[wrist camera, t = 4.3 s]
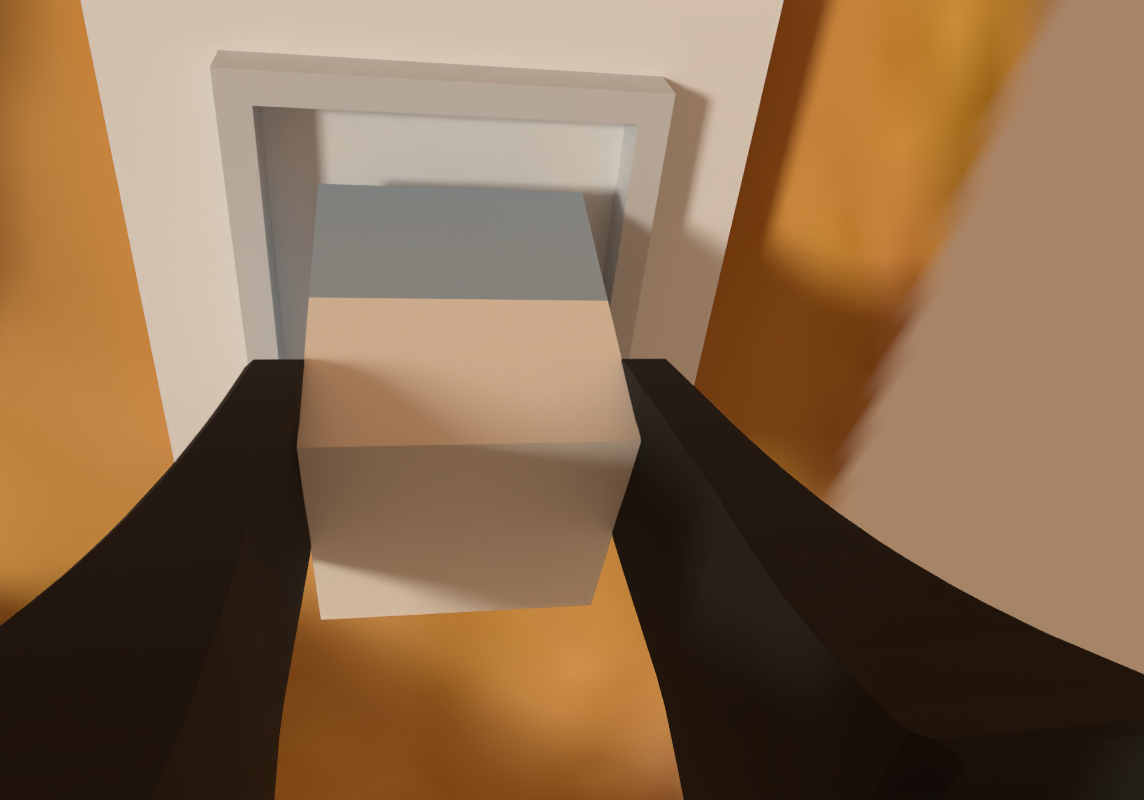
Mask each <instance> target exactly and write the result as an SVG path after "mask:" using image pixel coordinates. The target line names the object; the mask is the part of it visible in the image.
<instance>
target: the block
mask: <svg viewBox="0 0 1144 800" xmlns="http://www.w3.org/2000/svg"><path fill="white" fill-rule="evenodd" d="M621 359H622V358H621V354H620V350H619V345H618V341H617V337H616V333H615V329H614V324H613V320H612V316H611V312H610V308H609V303H608V299H607V295H606V291H605V286H604V282H603V278H602V274H601V270H600V265H599V261H598V257H597V253H596V249H595V244H594V240H593V236H592V232H591V228H590V223H589V219H588V215H587V211H586V206H585V202H584V198H583V194H582V193H574V192H545V191H516V190H487V189H459V188H430V187H401V186H372V185H343V184H318V191H317V204H316V216H315V228H314V241H313V253H312V265H311V278H310V290H309V302H308V315H307V327H306V340H305V352H304V373H303V385H302V398H301V410H300V423H299V430H298V438H297V453H298V460H299V467H300V475H301V482H302V489H303V496H304V503H305V509H306V515H307V521H308V527H309V534H310V541H311V553H312V560H313V567H314V574H315V581H316V588H317V595H318V602H319V609H320V617H321V620H327V619H345V618H363V617H381V616H399V615H417V614H435V613H453V612H472V611H490V610H508V609H526V608H544V607H562V606H580V605H591V602H592V599H593V596H594V592H595V589H596V586H597V583H598V579H599V576H600V573H601V570H602V566H603V563H604V560H605V557H606V554H607V550H608V547H609V544H610V541H611V537H612V531H613V528H614V525H615V521H616V518H617V515H618V512H619V509H620V506H621V503H622V500H623V497H624V494H625V491H626V488H627V485H628V482H629V479H630V476H631V472H632V469H633V466H634V463H635V459H636V456H637V453H638V450H639V446H640V443H641V438H640V434H639V430H638V427H637V424H636V421H635V417H634V413H633V408H632V404H631V400H630V396H629V392H628V387H627V383H626V379H625V375H624V370H623V366H622V362H621Z"/></svg>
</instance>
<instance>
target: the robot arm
mask: <svg viewBox="0 0 1144 800" xmlns="http://www.w3.org/2000/svg"><path fill="white" fill-rule="evenodd" d="M621 362H622V366H623V370H624V375H625V379H626V383H627V387H628V392H629V396H630V400H631V404H632V408H633V413H634V417H635V421H636V424H637V427H638V430H639V434H640V438H641V443H640V446H639V450H638V453H637V456H636V459H635V463H634V466H633V469H632V472H631V476H630V479H629V482H628V485H627V488H626V491H625V494H624V497H623V500H622V503H621V506H620V509H619V512H618V515H617V518H616V521H615V525H614V528H613V531H612V535H613V539H614V543H615V546H616V549H617V553H618V556H619V559H620V562H621V565H622V569H623V572H624V575H625V578H626V582H627V585H628V588H629V591H630V594H631V597H632V600H633V604H634V607H635V610H636V613H637V616H638V619H639V622H640V625H641V629H642V632H643V635H644V638H645V641H646V644H647V647H648V650H649V654H650V657H651V660H652V663H653V666H654V669H655V672H656V675H657V679H658V683H659V686H660V690H661V694H662V698H663V701H664V705H665V709H666V714H667V719H668V724H669V728H670V733H671V738H672V743H673V748H674V753H675V758H676V762H677V767H678V772H679V777H680V783H681V788H682V793H683V799H684V800H1144V674H1142V673H1139V672H1137V671H1135V670H1132V669H1130V668H1128V667H1125V666H1123V665H1120V664H1118V663H1115V662H1113V661H1111V660H1109V659H1106V658H1104V657H1101V656H1099V655H1097V654H1094V653H1092V652H1090V651H1087V650H1085V649H1082V648H1080V647H1078V646H1075V645H1073V644H1071V643H1068V642H1066V641H1063V640H1061V639H1059V638H1056V637H1054V636H1052V635H1049V634H1047V633H1045V632H1043V631H1041V630H1039V629H1037V628H1035V627H1033V626H1030V625H1028V624H1026V623H1024V622H1022V621H1020V620H1018V619H1016V618H1014V617H1012V616H1010V615H1008V614H1006V613H1004V612H1002V611H1000V610H998V609H996V608H994V607H992V606H990V605H987V604H986V603H984V602H982V601H980V600H978V599H977V598H974V597H973V596H971V595H969V594H967V593H965V592H963V591H962V590H960V589H958V588H956V587H954V586H952V585H951V584H949V583H947V582H945V581H944V580H942V579H940V578H939V577H937V576H935V575H933V574H932V573H930V572H928V571H927V570H925V569H923V568H922V567H920V566H918V565H917V564H914V563H913V562H911V561H910V560H908V559H906V558H905V557H903V556H902V555H900V554H898V553H897V552H895V551H894V550H892V549H891V548H889V547H887V546H886V545H884V544H883V543H881V542H880V541H878V540H877V539H875V538H874V537H872V536H871V535H869V534H868V533H867V532H865V531H864V530H862V529H861V528H859V527H858V526H857V525H855V524H854V523H852V522H851V521H849V520H848V519H846V518H845V517H844V516H842V515H841V514H839V513H838V512H836V511H835V510H834V509H832V508H831V507H830V506H828V505H827V504H826V503H825V502H823V501H822V500H821V499H819V498H818V497H817V496H815V495H814V494H813V493H812V492H810V491H809V490H808V489H807V488H806V487H804V486H803V485H802V484H801V483H799V482H798V481H797V480H796V479H795V478H793V477H792V476H791V475H790V474H788V473H787V472H786V471H785V470H784V469H782V468H781V467H780V466H779V465H778V464H777V463H775V462H774V461H773V460H772V459H771V458H770V457H769V456H767V455H766V454H765V453H764V452H763V451H762V450H761V449H759V448H758V447H757V446H756V445H755V444H754V443H753V442H752V441H751V440H750V439H748V438H747V437H746V436H745V435H744V434H743V433H742V432H741V431H740V430H739V429H738V428H737V427H736V426H735V425H733V424H732V423H731V422H730V421H729V420H728V419H727V418H726V417H725V416H724V415H723V414H722V413H721V412H720V411H719V410H718V409H717V408H716V407H715V406H714V405H713V404H712V403H711V402H710V401H709V400H708V399H707V398H706V397H705V396H704V395H703V394H702V393H701V392H700V391H698V390H697V389H696V388H695V387H694V386H693V385H692V384H691V383H690V382H689V381H688V380H687V379H686V378H685V377H684V376H683V375H682V374H681V373H680V372H679V371H678V370H677V369H676V368H675V367H674V366H673V365H672V364H671V363H670V362H668V361H667V360H666V359H621ZM303 373H304V359H253V360H252V361H251V362H250V363H249V364H248V365H247V366H245V368H244V369H243V371H242V372H241V374H240V375H239V377H238V378H237V380H236V381H235V383H234V384H233V386H232V387H231V389H230V390H229V392H228V393H227V395H226V396H225V397H224V399H223V400H222V402H221V403H220V405H219V406H218V407H217V409H216V410H215V411H214V413H213V414H212V415H211V417H210V418H209V419H208V421H207V422H206V423H205V425H204V426H203V427H202V429H201V430H200V431H199V432H198V434H197V435H196V436H195V437H194V439H193V440H192V441H191V442H190V444H189V445H188V446H187V447H186V449H185V450H184V451H183V452H182V454H181V455H180V456H179V457H178V459H177V460H176V461H175V462H174V463H173V465H172V466H171V467H170V468H169V469H168V470H167V472H166V473H165V474H164V475H163V476H162V477H161V478H160V479H159V480H158V482H157V483H156V484H155V485H154V486H153V487H152V488H151V489H150V490H149V491H148V492H147V494H146V495H145V496H144V497H143V498H142V499H141V500H140V501H139V502H138V503H137V505H136V506H135V507H134V508H133V509H132V510H131V511H130V512H129V513H128V514H127V515H126V516H125V517H124V518H123V519H122V520H121V521H120V522H119V523H118V524H117V525H116V526H115V527H114V528H113V529H112V530H111V531H110V532H109V533H108V534H107V535H106V536H105V537H104V538H103V539H102V540H101V541H100V542H99V543H98V544H97V545H96V546H95V547H94V548H93V549H92V550H91V551H89V552H88V553H87V554H86V555H85V556H84V557H83V558H82V559H81V560H80V561H78V562H77V563H76V564H75V565H74V566H73V567H72V568H71V569H70V570H69V571H67V572H66V573H65V574H64V575H63V576H62V577H61V578H59V579H58V580H57V581H56V582H54V583H53V584H52V585H51V586H50V587H48V588H47V589H46V590H45V591H44V592H42V593H41V594H40V595H39V596H37V597H36V598H35V599H34V600H33V601H31V602H30V603H29V604H28V605H26V606H25V607H24V608H23V609H21V610H20V611H19V612H18V613H16V614H15V615H14V616H12V617H11V618H10V619H9V620H7V621H6V622H5V623H3V624H2V625H1V626H0V800H274V798H275V784H276V771H277V758H278V744H279V734H280V727H281V719H282V712H283V704H284V698H285V693H286V687H287V682H288V676H289V670H290V665H291V659H292V654H293V648H294V642H295V637H296V631H297V626H298V620H299V614H300V609H301V603H302V598H303V592H304V586H305V580H306V575H307V569H308V563H309V557H310V551H311V541H310V534H309V527H308V521H307V515H306V509H305V503H304V496H303V489H302V482H301V475H300V467H299V460H298V453H297V438H298V430H299V423H300V410H301V398H302V385H303Z"/></svg>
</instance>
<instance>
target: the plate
mask: <svg viewBox="0 0 1144 800" xmlns="http://www.w3.org/2000/svg"><path fill="white" fill-rule="evenodd" d="M783 1H784V0H81V5H82V10H83V15H84V20H85V25H86V30H87V35H88V39H89V44H90V49H91V54H92V59H93V64H94V69H95V74H96V79H97V84H98V89H99V94H100V98H101V103H102V108H103V113H104V118H105V123H106V128H107V133H108V138H109V143H110V148H111V153H112V157H113V162H114V167H115V172H116V177H117V182H118V187H119V192H120V197H121V202H122V207H123V212H124V216H125V221H126V226H127V231H128V236H129V241H130V246H131V251H132V256H133V261H134V266H135V271H136V275H137V280H138V285H139V290H140V295H141V300H142V305H143V310H144V315H145V320H146V325H147V330H148V334H149V339H150V344H151V349H152V354H153V359H154V364H155V369H156V374H157V379H158V384H159V389H160V393H161V398H162V403H163V408H164V413H165V418H166V423H167V428H168V433H169V438H170V443H171V448H172V452H173V457H174V462H175V461H176V460H177V459H178V457H179V456H180V455H181V454H182V452H183V451H184V450H185V449H186V447H187V446H188V445H189V444H190V442H191V441H192V440H193V439H194V437H195V436H196V435H197V434H198V432H199V431H200V430H201V429H202V427H203V426H204V425H205V423H206V422H207V421H208V419H209V418H210V417H211V415H212V414H213V413H214V411H215V410H216V409H217V407H218V406H219V405H220V403H221V402H222V400H223V399H224V397H225V396H226V395H227V393H228V392H229V390H230V389H231V387H232V386H233V384H234V383H235V381H236V380H237V378H238V377H239V375H240V374H241V372H242V371H243V369H244V368H245V366H247V365H248V364H249V363H250V362H251V361H252V360H253V359H304V352H305V340H306V327H307V315H308V302H309V290H310V278H311V265H312V253H313V241H314V228H315V216H316V204H317V191H318V184H343V185H372V186H401V187H430V188H459V189H487V190H516V191H545V192H574V193H582V194H583V198H584V202H585V206H586V211H587V215H588V219H589V223H590V228H591V232H592V236H593V240H594V244H595V249H596V253H597V257H598V261H599V265H600V270H601V274H602V278H603V282H604V286H605V291H606V295H607V299H608V303H609V308H610V312H611V316H612V320H613V324H614V329H615V333H616V337H617V341H618V345H619V350H620V354H621V358H622V359H666V360H667V361H668V362H670V363H671V364H672V365H673V366H674V367H675V368H676V369H677V370H678V371H679V372H680V373H681V374H682V375H683V376H684V377H685V378H686V379H687V380H688V381H689V382H690V383H691V384H692V385H693V386H694V384H695V379H696V375H697V371H698V366H699V362H700V358H701V354H702V349H703V345H704V341H705V336H706V332H707V328H708V323H709V319H710V315H711V311H712V306H713V302H714V298H715V293H716V289H717V285H718V281H719V276H720V272H721V268H722V263H723V259H724V255H725V250H726V246H727V242H728V238H729V233H730V229H731V225H732V220H733V216H734V212H735V208H736V203H737V199H738V195H739V190H740V186H741V182H742V177H743V173H744V169H745V165H746V160H747V156H748V152H749V147H750V143H751V139H752V135H753V130H754V126H755V122H756V117H757V113H758V109H759V105H760V100H761V96H762V92H763V87H764V83H765V79H766V74H767V70H768V66H769V62H770V57H771V53H772V49H773V44H774V40H775V36H776V32H777V27H778V23H779V19H780V14H781V10H782V6H783Z"/></svg>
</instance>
